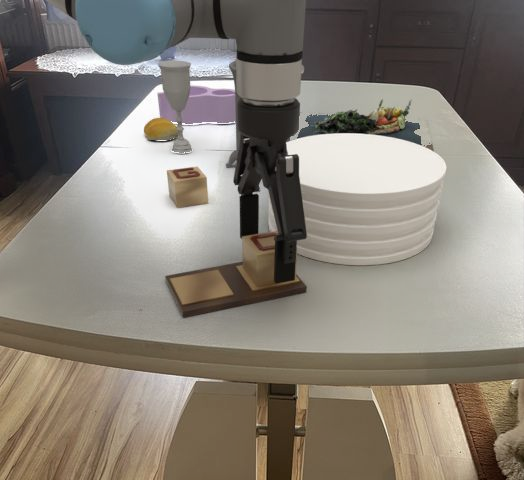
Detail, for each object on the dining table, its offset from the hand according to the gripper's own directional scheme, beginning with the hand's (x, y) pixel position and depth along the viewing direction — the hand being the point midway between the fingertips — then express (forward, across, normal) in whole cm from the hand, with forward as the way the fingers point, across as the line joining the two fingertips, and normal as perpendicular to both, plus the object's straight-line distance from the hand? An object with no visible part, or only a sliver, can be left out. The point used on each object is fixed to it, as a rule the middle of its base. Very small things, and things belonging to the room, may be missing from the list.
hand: (265, 257), depth 78 cm
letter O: (+2, 0, 0) cm, 3 cm away
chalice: (+4, +61, -3) cm, 61 cm away
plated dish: (+4, +60, -49) cm, 78 cm away
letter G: (+4, +33, +3) cm, 33 cm away
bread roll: (+4, +73, -1) cm, 73 cm away
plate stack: (+4, +12, -20) cm, 24 cm away
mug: (+4, +46, -17) cm, 49 cm away
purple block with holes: (+4, +84, -14) cm, 85 cm away
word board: (+4, 0, +5) cm, 6 cm away
